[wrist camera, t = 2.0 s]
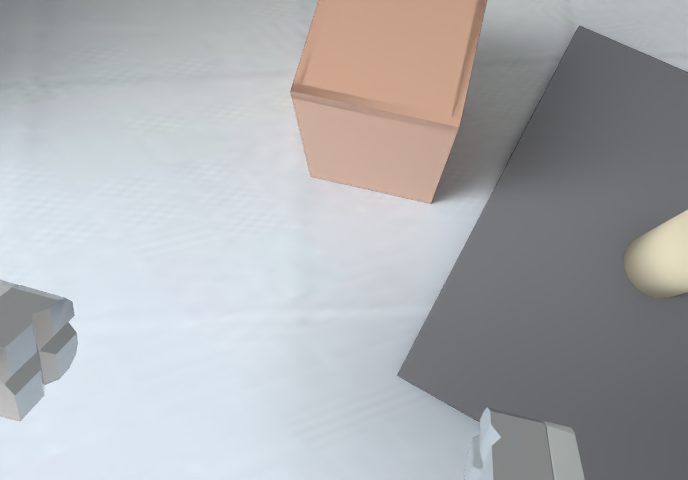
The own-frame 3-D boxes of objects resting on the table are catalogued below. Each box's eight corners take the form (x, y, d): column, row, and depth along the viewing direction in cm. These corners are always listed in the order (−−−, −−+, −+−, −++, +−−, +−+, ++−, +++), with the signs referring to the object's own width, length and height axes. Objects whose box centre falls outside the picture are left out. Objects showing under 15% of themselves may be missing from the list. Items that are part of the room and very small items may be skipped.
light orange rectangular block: (310, 176, 27) (290, 91, 19) (340, 70, 29) (333, -48, 21) (430, 203, 27) (459, 127, 19) (455, 94, 28) (491, -18, 20)
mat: (397, 375, 25) (405, 371, 20) (576, 30, 29) (618, -41, 24) (752, 576, 22) (859, 627, 17) (891, 166, 26) (1006, 118, 22)
